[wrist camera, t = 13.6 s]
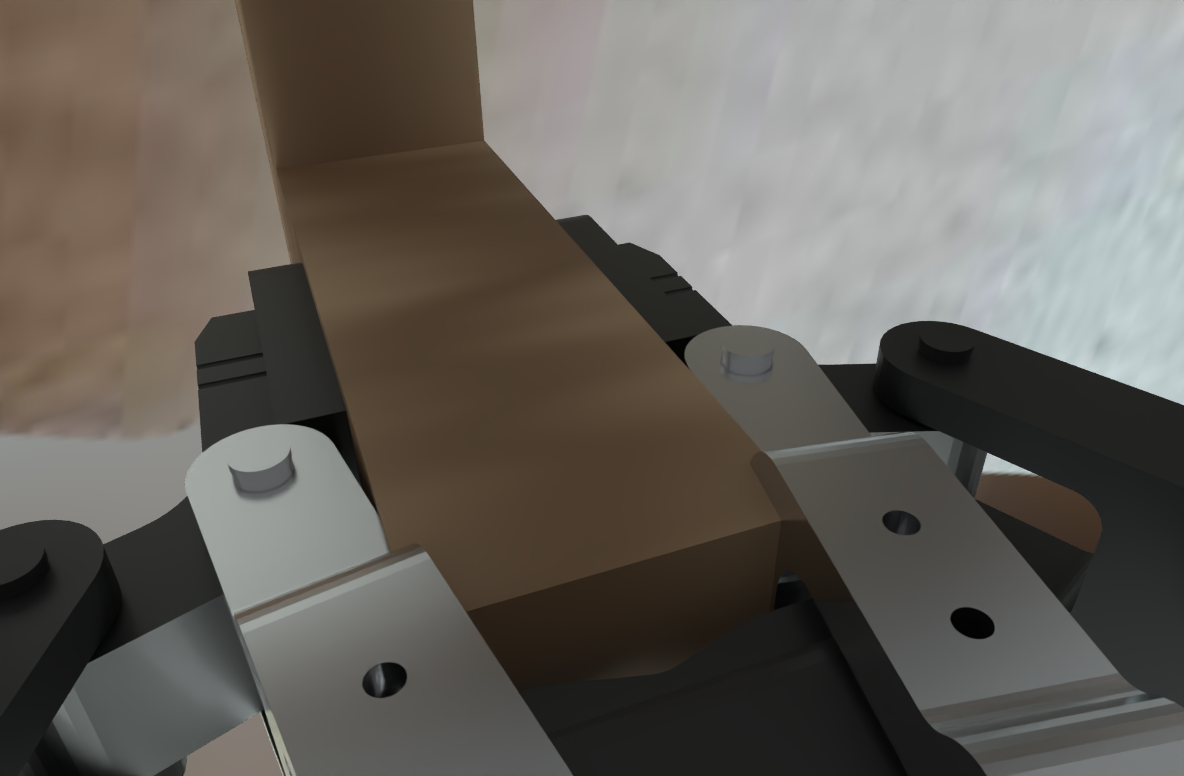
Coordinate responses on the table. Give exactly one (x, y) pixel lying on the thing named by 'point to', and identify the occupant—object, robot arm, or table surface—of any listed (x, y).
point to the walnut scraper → (498, 360)
